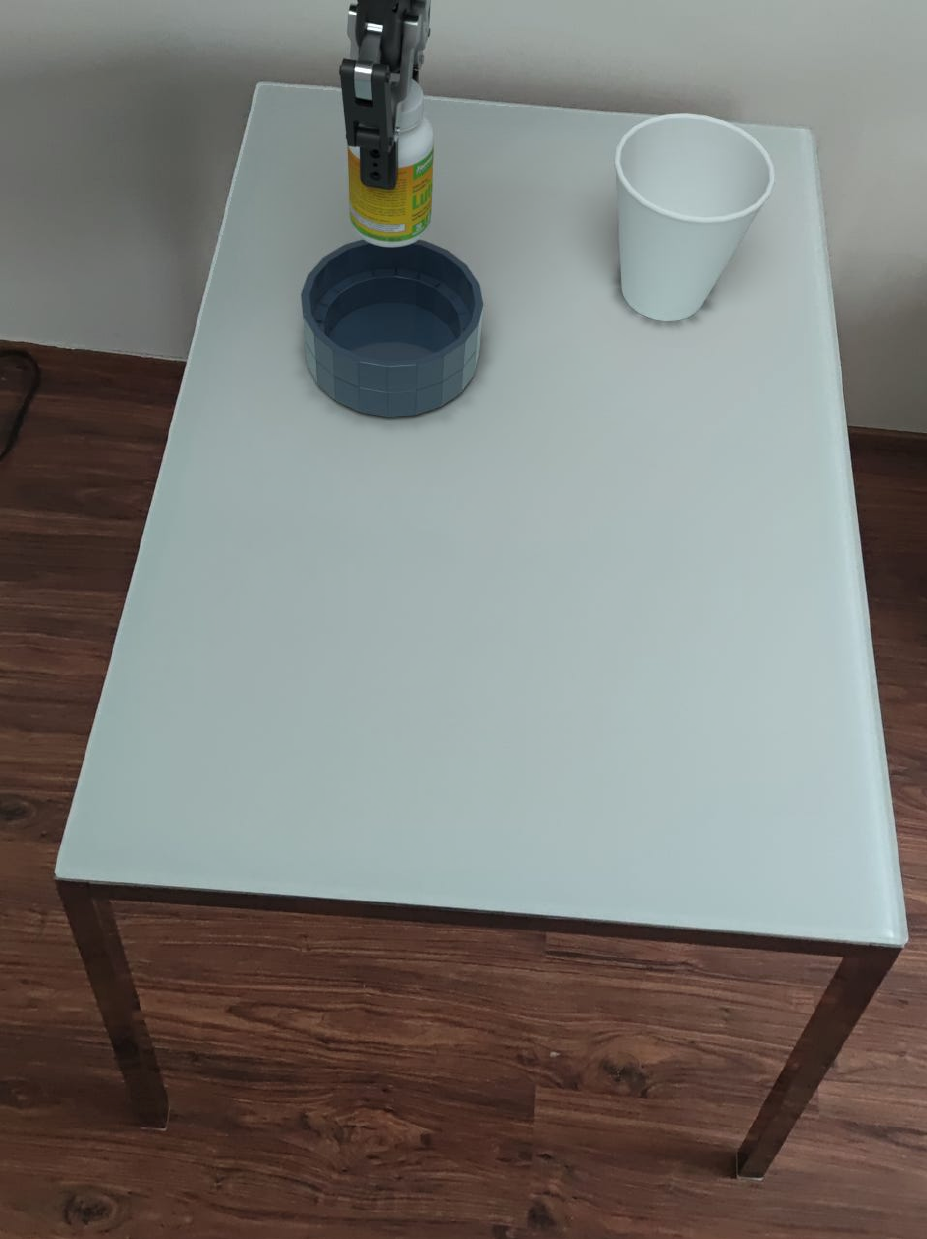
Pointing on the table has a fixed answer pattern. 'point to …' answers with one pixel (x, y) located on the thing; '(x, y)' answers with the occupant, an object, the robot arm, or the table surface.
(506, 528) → the table surface
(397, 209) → the supplement bottle
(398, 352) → the bowl
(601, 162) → the table surface
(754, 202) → the cup
